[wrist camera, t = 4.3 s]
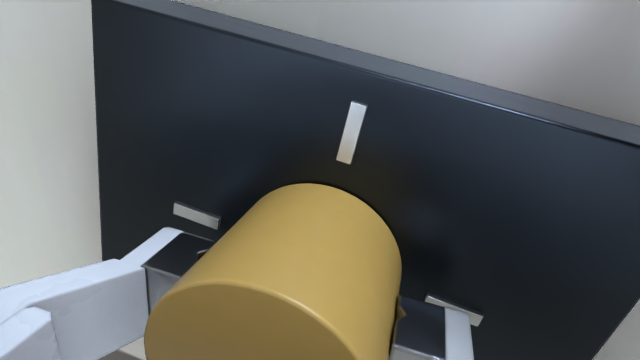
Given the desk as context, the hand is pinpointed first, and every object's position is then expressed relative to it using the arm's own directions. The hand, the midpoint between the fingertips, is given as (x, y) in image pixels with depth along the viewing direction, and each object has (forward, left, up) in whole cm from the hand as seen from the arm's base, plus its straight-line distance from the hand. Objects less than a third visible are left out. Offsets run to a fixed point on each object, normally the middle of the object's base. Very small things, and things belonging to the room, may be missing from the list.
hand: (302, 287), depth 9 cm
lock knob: (0, 0, -1) cm, 1 cm away
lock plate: (0, 0, -4) cm, 4 cm away
